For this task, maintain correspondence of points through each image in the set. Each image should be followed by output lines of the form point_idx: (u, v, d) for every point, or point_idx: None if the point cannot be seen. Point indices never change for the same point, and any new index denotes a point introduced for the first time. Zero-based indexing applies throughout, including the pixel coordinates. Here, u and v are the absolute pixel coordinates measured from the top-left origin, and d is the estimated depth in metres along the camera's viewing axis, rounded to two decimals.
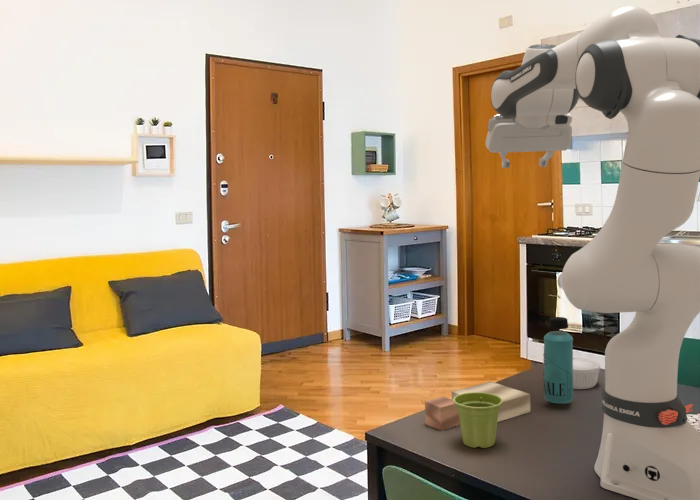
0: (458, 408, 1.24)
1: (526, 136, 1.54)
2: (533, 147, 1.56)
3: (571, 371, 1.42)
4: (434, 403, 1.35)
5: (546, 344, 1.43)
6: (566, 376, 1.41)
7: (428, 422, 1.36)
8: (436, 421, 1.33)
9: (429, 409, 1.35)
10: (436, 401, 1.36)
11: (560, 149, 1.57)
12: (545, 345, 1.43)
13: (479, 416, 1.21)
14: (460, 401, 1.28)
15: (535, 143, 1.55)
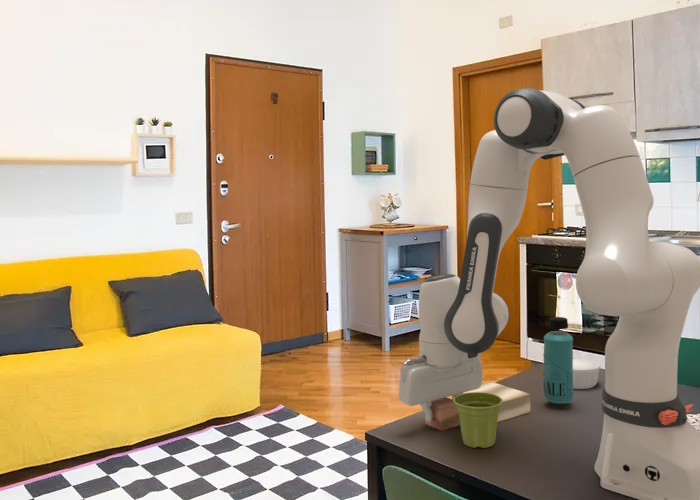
0: (458, 408, 1.24)
1: (441, 379, 1.33)
2: (450, 390, 1.34)
3: (571, 371, 1.42)
4: (434, 402, 1.35)
5: (546, 344, 1.43)
6: (566, 376, 1.41)
7: (428, 421, 1.36)
8: (436, 420, 1.33)
9: None
10: (436, 400, 1.36)
11: (474, 388, 1.38)
12: (545, 345, 1.43)
13: (479, 416, 1.21)
14: (460, 402, 1.28)
15: (451, 385, 1.34)
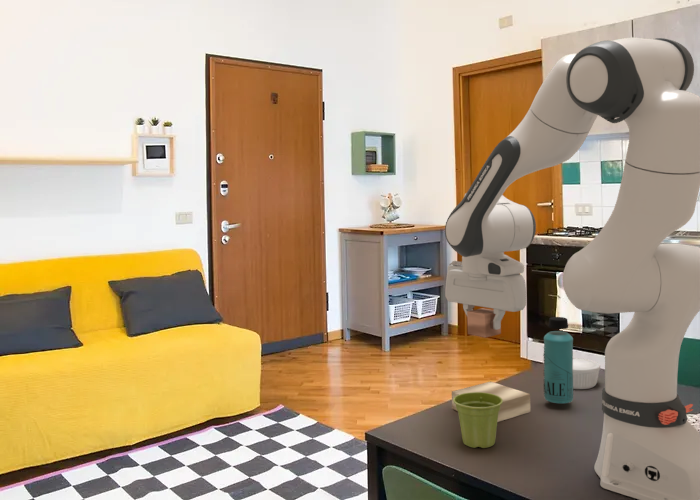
0: (458, 408, 1.24)
1: (474, 287, 1.40)
2: (481, 301, 1.38)
3: (571, 371, 1.42)
4: (477, 310, 1.42)
5: (546, 344, 1.43)
6: (566, 376, 1.41)
7: None
8: None
9: None
10: (485, 310, 1.42)
11: (506, 309, 1.33)
12: (545, 345, 1.43)
13: (479, 416, 1.21)
14: (460, 401, 1.28)
15: (482, 296, 1.38)
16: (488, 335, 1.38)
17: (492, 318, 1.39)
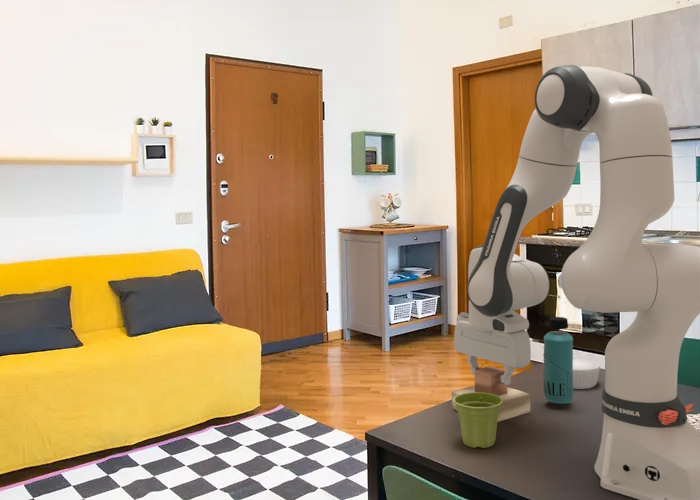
0: (458, 408, 1.24)
1: (480, 340, 1.42)
2: (486, 355, 1.40)
3: (571, 371, 1.42)
4: (485, 368, 1.44)
5: (546, 344, 1.43)
6: (566, 376, 1.41)
7: None
8: None
9: None
10: (492, 369, 1.44)
11: (510, 365, 1.35)
12: (545, 345, 1.43)
13: (479, 416, 1.21)
14: (460, 401, 1.28)
15: (488, 350, 1.40)
16: None
17: (498, 378, 1.41)
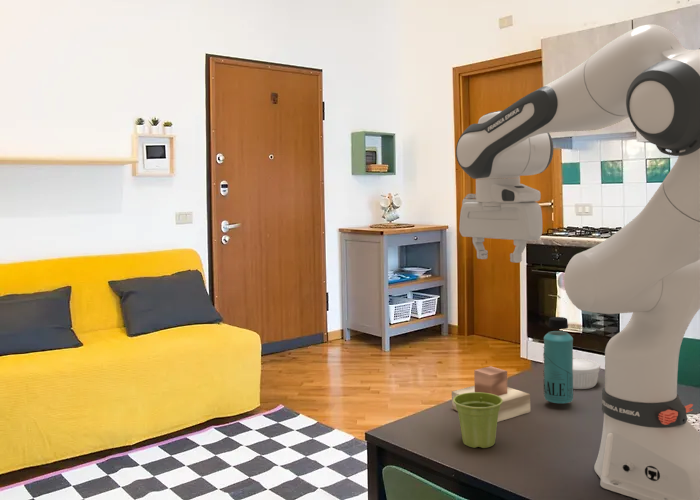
0: (458, 408, 1.24)
1: (488, 218, 1.33)
2: (495, 232, 1.31)
3: (571, 371, 1.42)
4: (485, 368, 1.44)
5: (546, 344, 1.43)
6: (566, 376, 1.41)
7: None
8: None
9: None
10: (492, 369, 1.44)
11: (520, 238, 1.26)
12: (545, 345, 1.43)
13: (479, 416, 1.21)
14: (460, 401, 1.28)
15: (496, 227, 1.31)
16: None
17: (498, 378, 1.41)
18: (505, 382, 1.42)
